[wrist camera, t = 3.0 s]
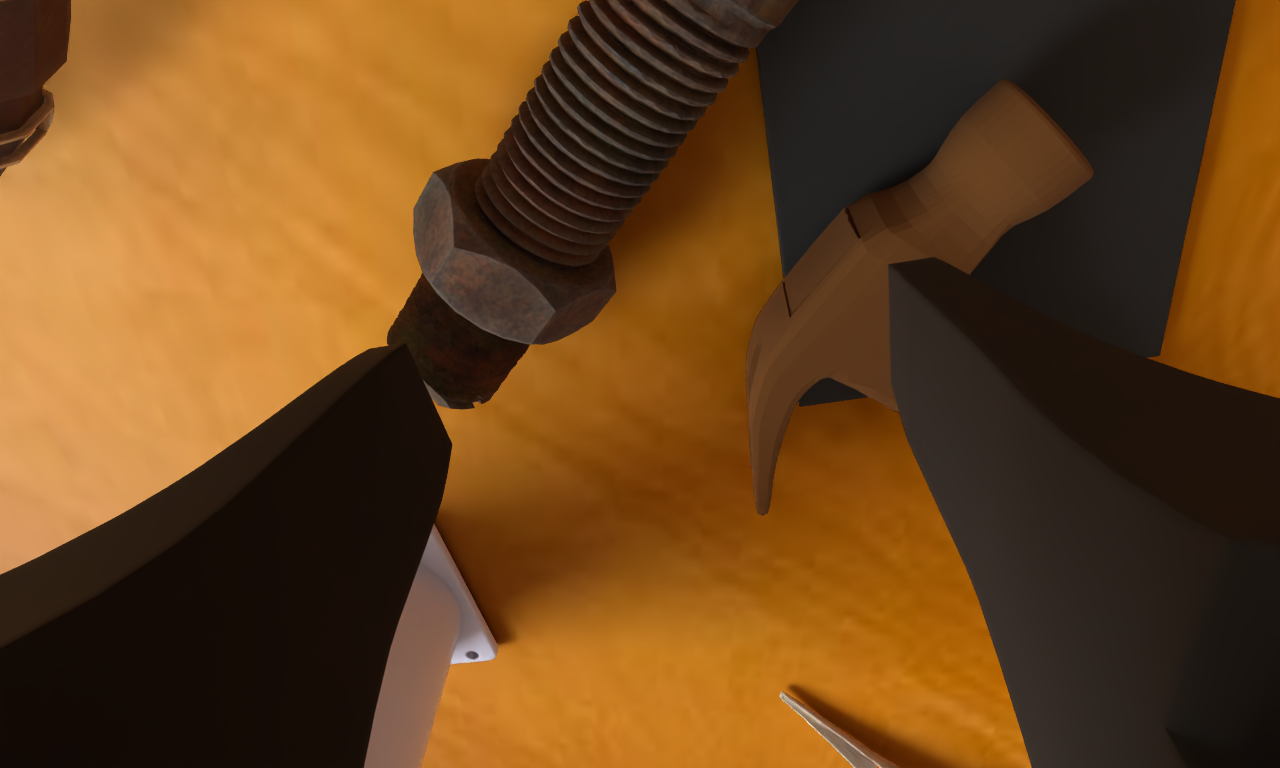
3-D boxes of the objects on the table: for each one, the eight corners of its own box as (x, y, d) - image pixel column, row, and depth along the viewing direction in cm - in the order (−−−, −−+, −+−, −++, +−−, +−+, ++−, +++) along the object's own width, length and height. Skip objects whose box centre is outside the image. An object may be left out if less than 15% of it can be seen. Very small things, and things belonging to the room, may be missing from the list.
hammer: (1477, 632, 27) (989, 60, 16) (1558, 715, 25) (1043, 101, 14) (1162, 747, 33) (645, 376, 22) (1201, 823, 30) (640, 446, 20)
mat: (797, 399, 23) (799, 407, 22) (688, -522, 12) (688, -531, 12) (1152, 348, 21) (1160, 356, 21) (1381, -760, 11) (1403, -781, 10)
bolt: (455, 285, 23) (783, -238, 15) (560, 406, 22) (967, -73, 14) (288, 324, 18) (636, -418, 10) (414, 480, 17) (905, -182, 9)
